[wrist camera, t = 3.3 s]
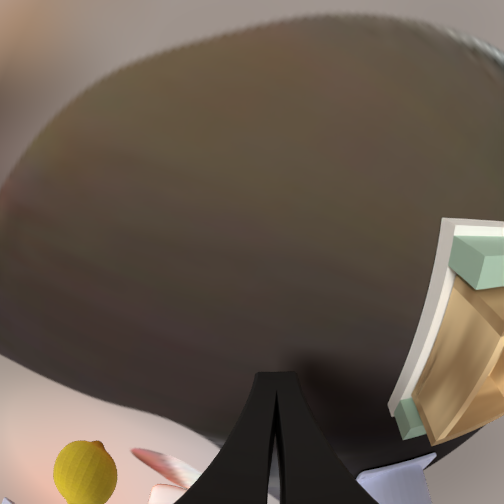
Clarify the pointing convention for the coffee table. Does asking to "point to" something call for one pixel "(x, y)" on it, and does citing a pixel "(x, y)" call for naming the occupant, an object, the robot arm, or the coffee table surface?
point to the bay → (442, 280)
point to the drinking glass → (165, 494)
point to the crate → (464, 365)
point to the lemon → (85, 473)
